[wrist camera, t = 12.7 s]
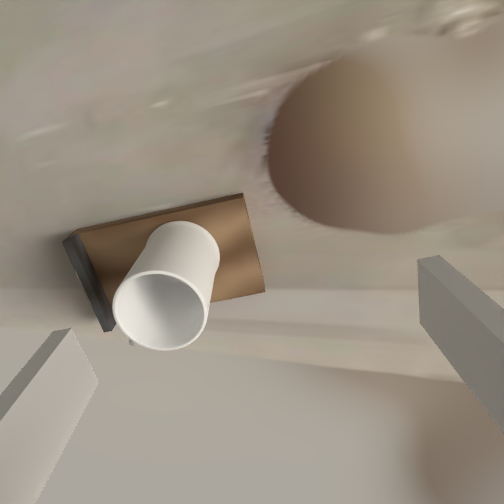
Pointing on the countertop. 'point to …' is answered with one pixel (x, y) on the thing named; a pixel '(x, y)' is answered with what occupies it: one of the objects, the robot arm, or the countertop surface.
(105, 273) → the flat wooden box
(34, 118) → the countertop surface
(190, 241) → the mug
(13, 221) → the countertop surface
